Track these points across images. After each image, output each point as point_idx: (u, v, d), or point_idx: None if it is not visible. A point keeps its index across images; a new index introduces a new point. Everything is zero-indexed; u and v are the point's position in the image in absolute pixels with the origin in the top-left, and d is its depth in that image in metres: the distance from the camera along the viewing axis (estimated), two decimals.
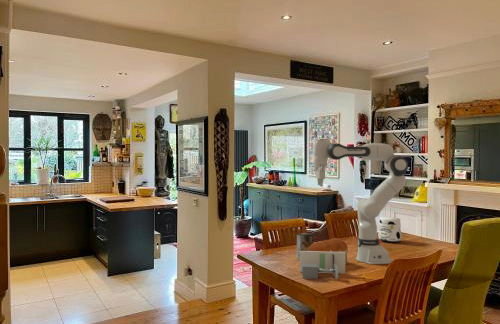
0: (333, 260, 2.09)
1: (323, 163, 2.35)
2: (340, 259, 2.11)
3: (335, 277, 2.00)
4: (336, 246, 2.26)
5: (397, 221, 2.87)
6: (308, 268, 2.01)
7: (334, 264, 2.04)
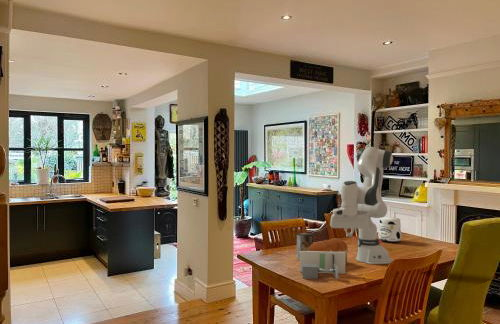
0: (333, 260, 2.09)
1: None
2: (340, 259, 2.11)
3: (335, 277, 2.00)
4: (336, 246, 2.26)
5: (397, 221, 2.87)
6: (308, 268, 2.01)
7: (334, 264, 2.04)
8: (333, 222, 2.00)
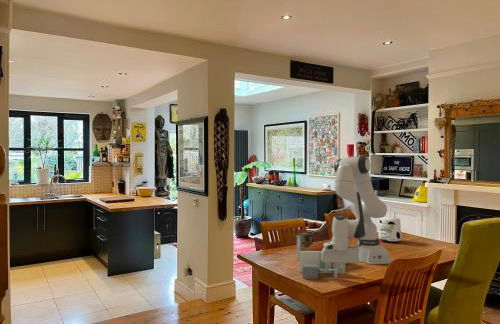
0: None
1: None
2: None
3: (334, 277, 2.00)
4: None
5: (397, 221, 2.87)
6: (308, 268, 2.01)
7: (333, 264, 2.04)
8: (324, 256, 2.01)
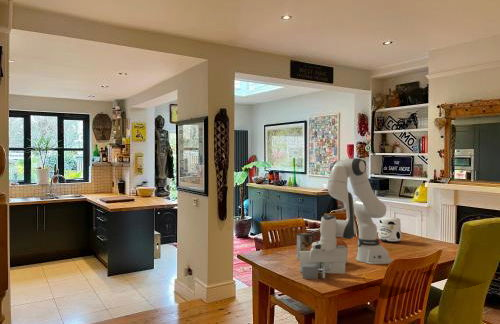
0: None
1: None
2: None
3: (322, 277, 2.00)
4: None
5: (397, 221, 2.87)
6: (308, 268, 2.01)
7: (321, 264, 2.05)
8: (312, 256, 2.01)
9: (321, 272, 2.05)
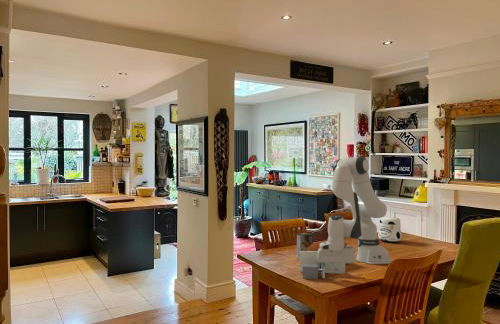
0: None
1: None
2: None
3: (322, 277, 2.00)
4: None
5: (397, 221, 2.87)
6: (308, 268, 2.01)
7: (321, 264, 2.05)
8: (319, 257, 2.01)
9: (321, 272, 2.05)
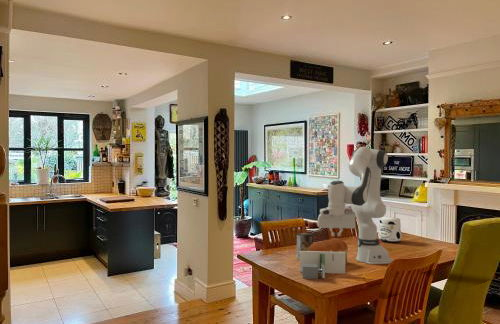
0: (320, 260, 2.09)
1: None
2: (340, 259, 2.11)
3: (322, 277, 2.00)
4: (336, 246, 2.26)
5: (397, 221, 2.87)
6: (308, 268, 2.01)
7: (321, 264, 2.05)
8: (320, 222, 2.01)
9: (321, 272, 2.05)
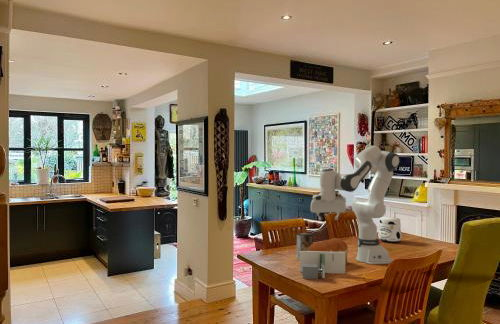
0: (320, 260, 2.09)
1: None
2: (340, 259, 2.11)
3: (322, 277, 2.00)
4: (336, 246, 2.26)
5: (397, 221, 2.87)
6: (308, 268, 2.01)
7: (321, 264, 2.05)
8: (313, 207, 2.16)
9: (321, 272, 2.05)
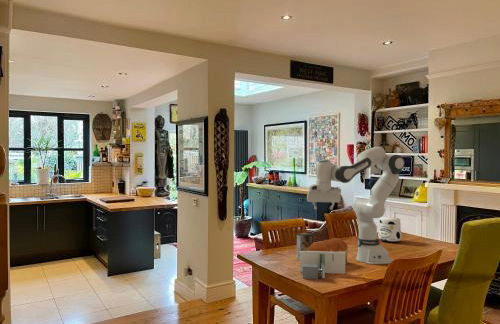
0: (320, 260, 2.09)
1: None
2: (340, 259, 2.11)
3: (322, 277, 2.00)
4: (336, 246, 2.26)
5: (397, 221, 2.87)
6: (308, 268, 2.01)
7: (321, 264, 2.05)
8: (309, 196, 2.25)
9: (321, 272, 2.05)
